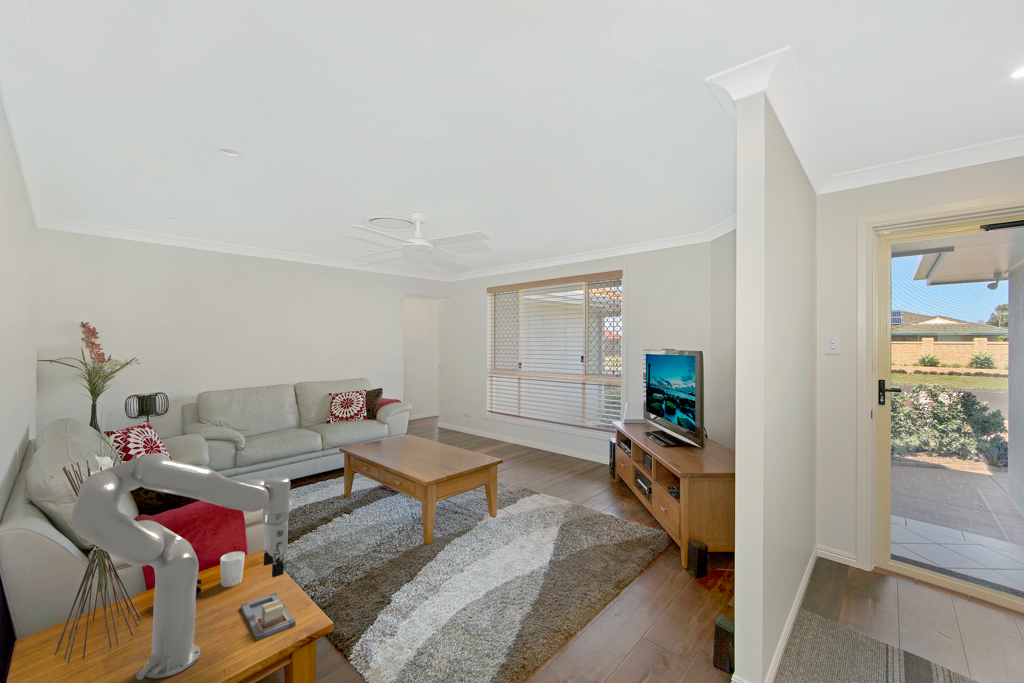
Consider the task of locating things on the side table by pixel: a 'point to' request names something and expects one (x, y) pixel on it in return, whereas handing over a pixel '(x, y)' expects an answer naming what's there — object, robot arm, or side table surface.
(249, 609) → the grey slotted tray
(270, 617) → the birch block
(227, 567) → the white cup
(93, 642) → the side table surface
